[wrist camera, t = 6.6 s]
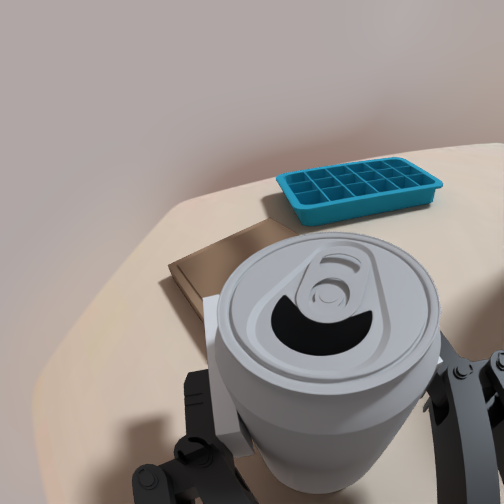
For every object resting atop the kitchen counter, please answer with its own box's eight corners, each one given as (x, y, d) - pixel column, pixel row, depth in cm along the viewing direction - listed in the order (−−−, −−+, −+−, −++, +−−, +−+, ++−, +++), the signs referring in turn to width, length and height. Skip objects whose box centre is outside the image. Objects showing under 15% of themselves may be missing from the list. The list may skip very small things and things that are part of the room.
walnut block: (271, 229, 33) (269, 216, 32) (351, 280, 24) (352, 265, 23) (172, 277, 29) (167, 263, 28) (228, 357, 20) (222, 343, 19)
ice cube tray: (444, 206, 32) (447, 184, 31) (298, 236, 32) (296, 211, 30) (399, 174, 42) (400, 156, 40) (277, 194, 42) (274, 175, 40)
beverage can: (245, 474, 13) (148, 353, 6) (291, 386, 17) (264, 214, 11) (356, 507, 10) (449, 438, 3) (388, 408, 15) (448, 235, 8)
